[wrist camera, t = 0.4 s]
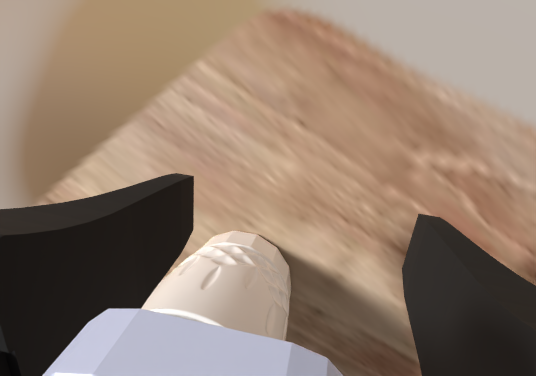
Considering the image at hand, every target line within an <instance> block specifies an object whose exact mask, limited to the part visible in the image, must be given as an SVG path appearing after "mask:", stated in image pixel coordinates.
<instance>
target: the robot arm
mask: <svg viewBox="0 0 536 376" xmlns="http://www.w3.org/2000/svg"><path fill="white" fill-rule="evenodd" d="M193 203H194V176H189V175H183V174H177V173H175V174H169V175H165V176H161V177H158V178H155V179H152V180H148V181H145V182H142V183H139V184H136V185H133V186H129V187H126V188H123V189H119V190H115V191H112V192H108V193H105V194H101V195H97V196H93V197H89V198H84V199H79V200H74V201H69V202H63V203H57V204H49V205H41V206H33V207H25V208H13V209H0V376H343V375H342V374H341V372H340V371H339V370H338V369H337V368H336V367H335V366H334V365H333V364H332V362H331V361H330V360H329V359H328V358H326V357H324V356H322V355H320V354H318V353H315V352H313V351H311V350H308V349H306V348H304V347H302V346H299V345H297V344H295V343H292V342H288V341H284V340H279V339H275V338H270V337H266V336H261V335H257V334H252V333H248V332H243V331H239V330H235V329H230V328H226V327H221V326H217V325H212V324H208V323H203V322H199V321H194V320H190V319H185V318H181V317H176V316H172V315H168V314H163V313H159V312H154V311H150V310H145V309H141V308H142V307H143V305H144V304H145V302H146V301H147V299H148V298H149V297H150V295H151V294H152V292H153V291H154V290H155V288H156V287H157V286H158V284H159V283H160V282H161V280H162V279H163V277H164V276H165V275H166V273H167V272H168V271H169V269H170V268H171V267H172V265H173V264H174V262H175V261H176V260H177V258H178V257H179V255H180V254H181V252H182V251H183V249H184V247H185V245H186V243H187V241H188V239H189V237H190V235H191V233H192V231H193ZM402 273H403V288H404V297H405V302H406V306H407V311H408V315H409V320H410V324H411V328H412V332H413V336H414V341H415V345H416V349H417V353H418V358H419V362H420V368H421V373H422V376H536V286H535V285H533V284H532V283H530V282H528V281H527V280H525V279H523V278H522V277H520V276H519V275H517V274H516V273H514V272H513V271H511V270H510V269H509V268H507V267H506V266H504V265H503V264H501V263H500V262H499V261H497V260H496V259H494V258H493V257H492V256H490V255H489V254H488V253H486V252H485V251H484V250H482V249H481V248H480V247H479V246H477V245H476V244H475V243H473V242H472V241H471V240H470V239H468V238H467V237H466V236H465V235H463V234H462V233H461V232H460V231H458V230H457V229H456V228H454V227H453V226H452V225H451V224H449V223H448V222H446V221H445V220H443V219H442V218H440V217H435V216H429V215H423V214H418V218H417V221H416V224H415V228H414V231H413V234H412V238H411V241H410V244H409V248H408V251H407V254H406V258H405V261H404V264H403V268H402Z"/></svg>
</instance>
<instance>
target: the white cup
mask: <svg viewBox="0 0 536 376" xmlns="http://www.w3.org/2000/svg"><path fill="white" fill-rule="evenodd" d="M290 294H291V280H290V270H289V266H288V264H287V263H286V261H285V260H284V258H283V256H282V255H281V253H280V252H279V250H278V248H277V247H275V246H274V245H272V244H271V243H269V242H268V241H266V240H265V239H263V238H262V237H260V236H259V235H257V234H252V233H246V232H241V231H235V230H234V231H230V232H227V233H223V234H219V235H215V236H213V237H212V238H211V239H210V240H209V241H207V242H206V243H205V244H204V245H203V246H202V247H201V248H200V249H199V250H198V251H197V252H196V253H194V254H193V255H191V256H189V257H187V258H186V259H185V260H184V261H183V262H182V263H181V264H180V265H179V266H177V267H176V268H175V269H174V270H173V271H172V272H171V273H170V274H169V275H168V276H166V277H165V278H164V279H163V280H162V281H161V282H160V283H159V284H158V286H157V287H156V288H155V290H154V291H153V292H152V294H151V295H150V297H149V298H148V299H147V301H146V302H145V304H144V305H143V307H142V308H141V309H145V310H150V311H154V312H159V313H163V314H168V315H172V316H176V317H181V318H185V319H190V320H194V321H199V322H203V323H208V324H212V325H217V326H221V327H226V328H230V329H235V330H239V331H243V332H248V333H252V334H257V335H261V336H266V337H270V338H275V339H279V340H284V341H286V335H287V324H288V317H289V300H290Z"/></svg>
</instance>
